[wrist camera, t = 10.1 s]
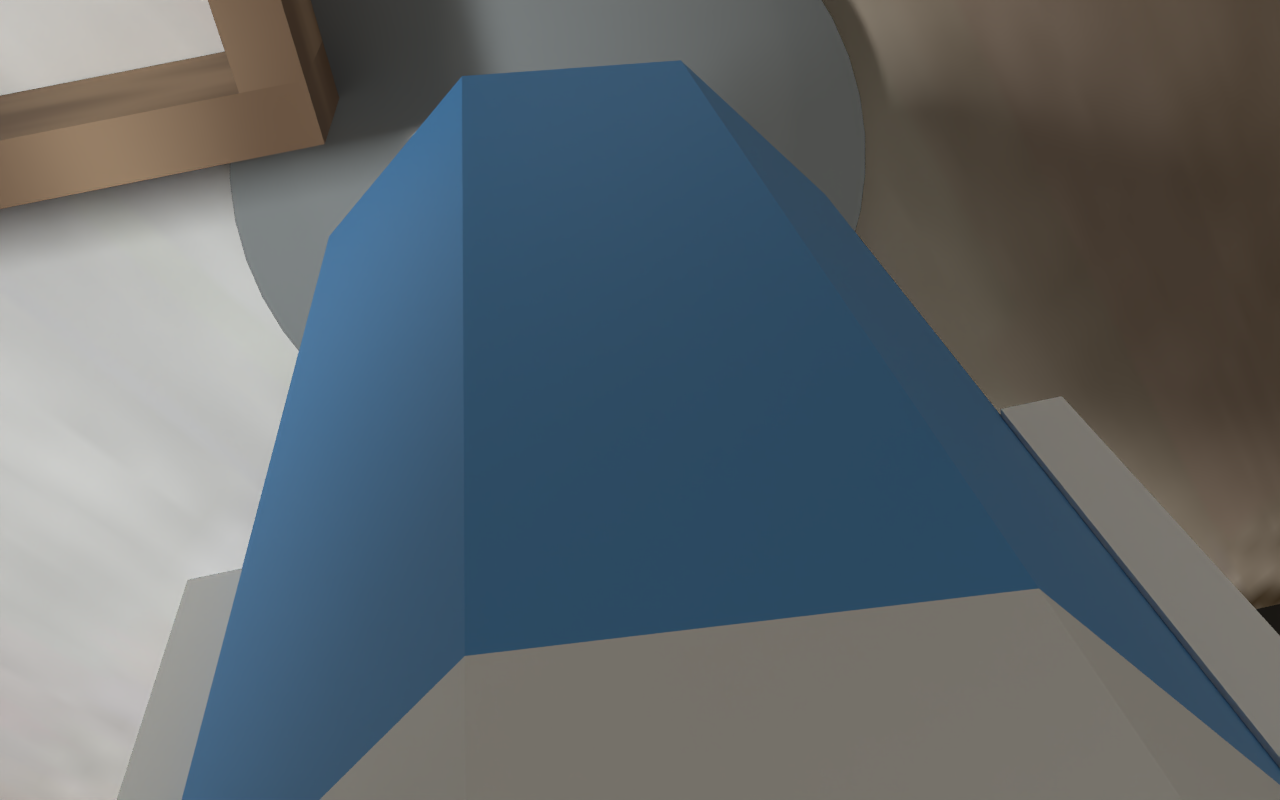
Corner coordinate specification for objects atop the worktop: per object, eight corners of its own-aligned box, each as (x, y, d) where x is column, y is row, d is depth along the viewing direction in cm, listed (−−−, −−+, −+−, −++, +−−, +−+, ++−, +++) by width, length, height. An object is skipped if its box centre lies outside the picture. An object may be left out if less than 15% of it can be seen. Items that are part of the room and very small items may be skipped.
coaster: (340, 497, 30) (337, 515, 30) (137, -80, 23) (126, -75, 23) (873, 385, 31) (883, 400, 30) (830, -213, 24) (841, -212, 23)
